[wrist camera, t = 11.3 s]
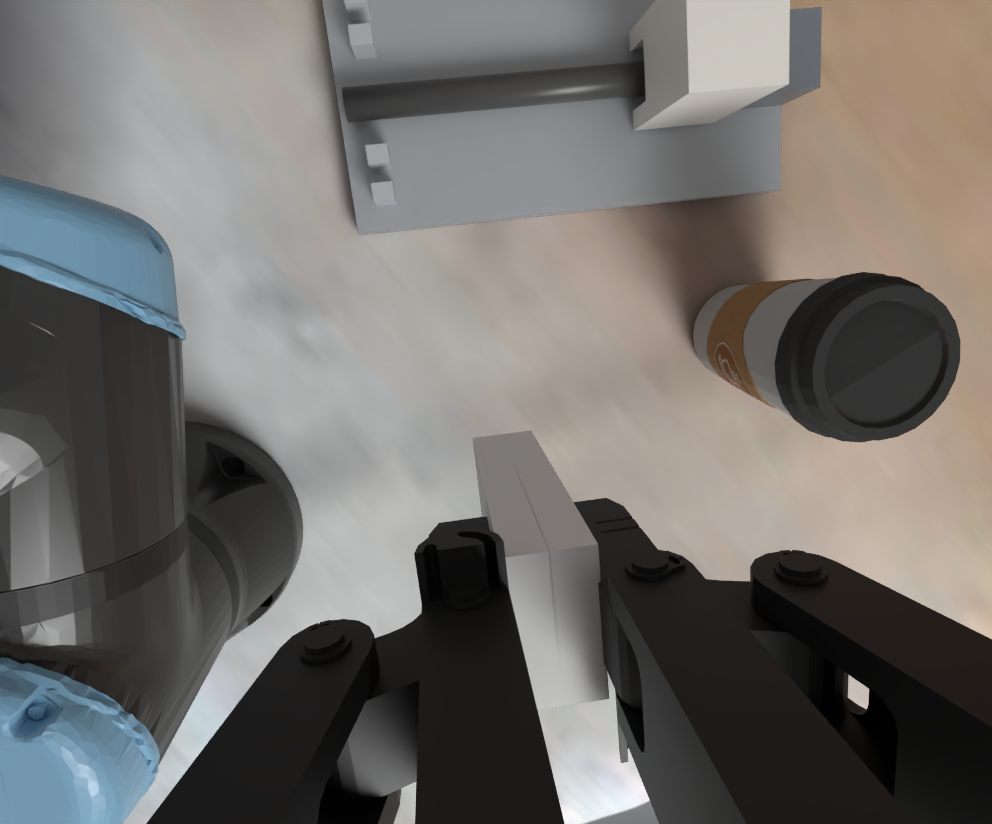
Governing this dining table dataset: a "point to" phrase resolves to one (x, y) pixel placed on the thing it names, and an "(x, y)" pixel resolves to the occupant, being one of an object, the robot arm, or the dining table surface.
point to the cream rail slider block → (709, 58)
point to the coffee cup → (834, 351)
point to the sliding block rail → (530, 113)
